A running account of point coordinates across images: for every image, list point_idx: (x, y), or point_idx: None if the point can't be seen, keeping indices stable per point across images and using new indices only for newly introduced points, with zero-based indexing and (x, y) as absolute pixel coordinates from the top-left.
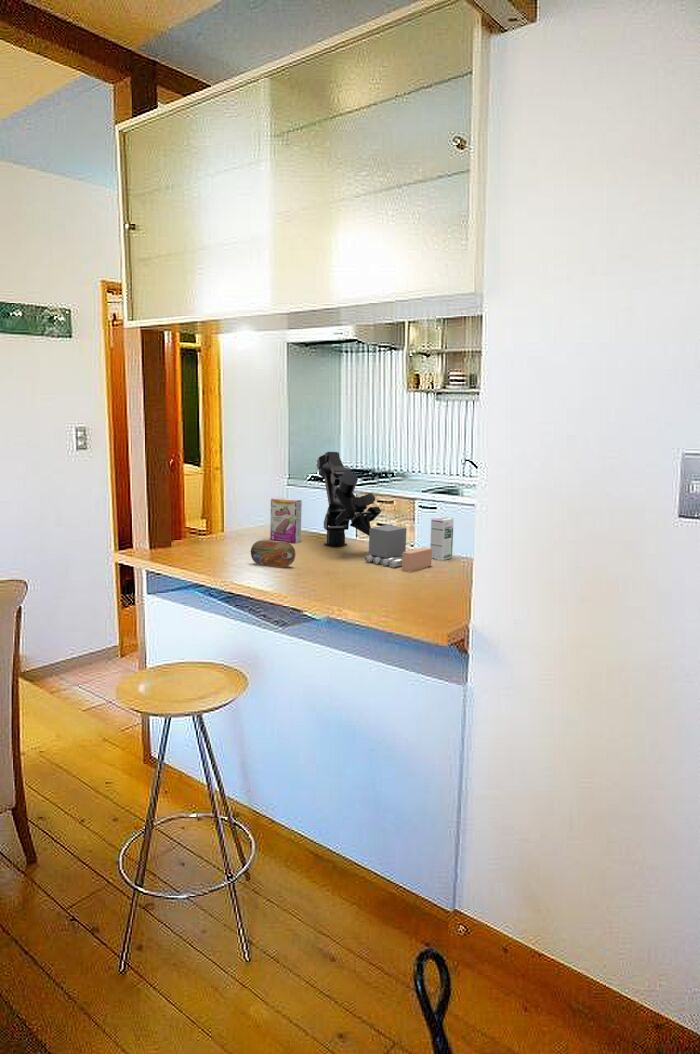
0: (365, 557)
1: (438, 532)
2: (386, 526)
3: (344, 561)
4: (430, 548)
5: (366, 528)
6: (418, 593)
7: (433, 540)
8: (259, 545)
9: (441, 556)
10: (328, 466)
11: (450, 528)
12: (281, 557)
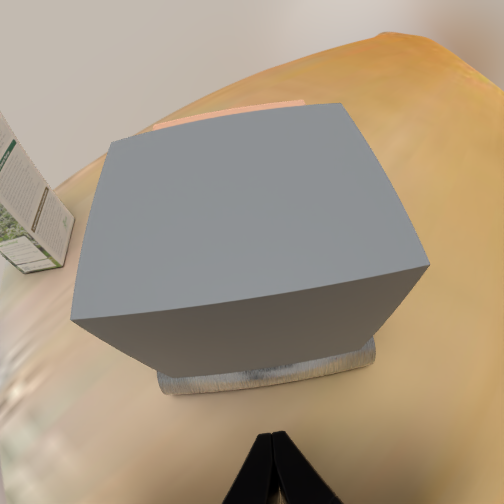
0: (373, 359)
1: (12, 165)
2: (167, 253)
3: (447, 421)
4: (153, 128)
5: (319, 479)
6: (392, 73)
7: (25, 210)
8: None
9: (67, 214)
10: None
11: None
12: None
